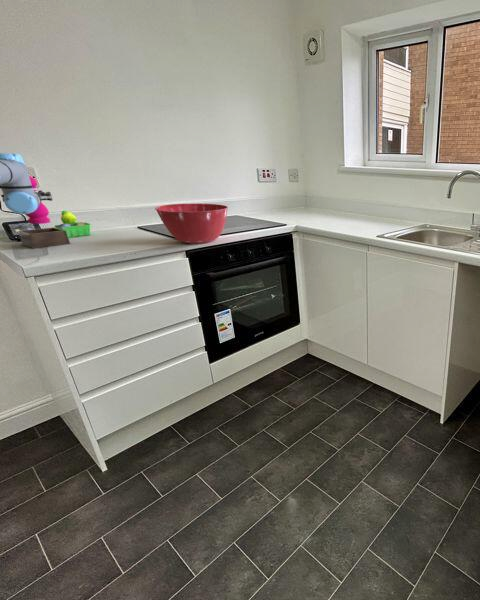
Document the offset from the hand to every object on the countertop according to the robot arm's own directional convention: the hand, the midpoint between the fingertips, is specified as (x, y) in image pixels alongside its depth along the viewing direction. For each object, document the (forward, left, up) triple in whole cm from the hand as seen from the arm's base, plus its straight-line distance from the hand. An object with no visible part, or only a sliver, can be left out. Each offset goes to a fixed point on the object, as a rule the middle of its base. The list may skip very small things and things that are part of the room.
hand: (32, 194), depth 144 cm
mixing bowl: (+39, -46, -20) cm, 63 cm away
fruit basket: (+12, +7, -20) cm, 25 cm away
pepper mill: (-2, -5, -11) cm, 12 cm away
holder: (-2, -5, -20) cm, 20 cm away
